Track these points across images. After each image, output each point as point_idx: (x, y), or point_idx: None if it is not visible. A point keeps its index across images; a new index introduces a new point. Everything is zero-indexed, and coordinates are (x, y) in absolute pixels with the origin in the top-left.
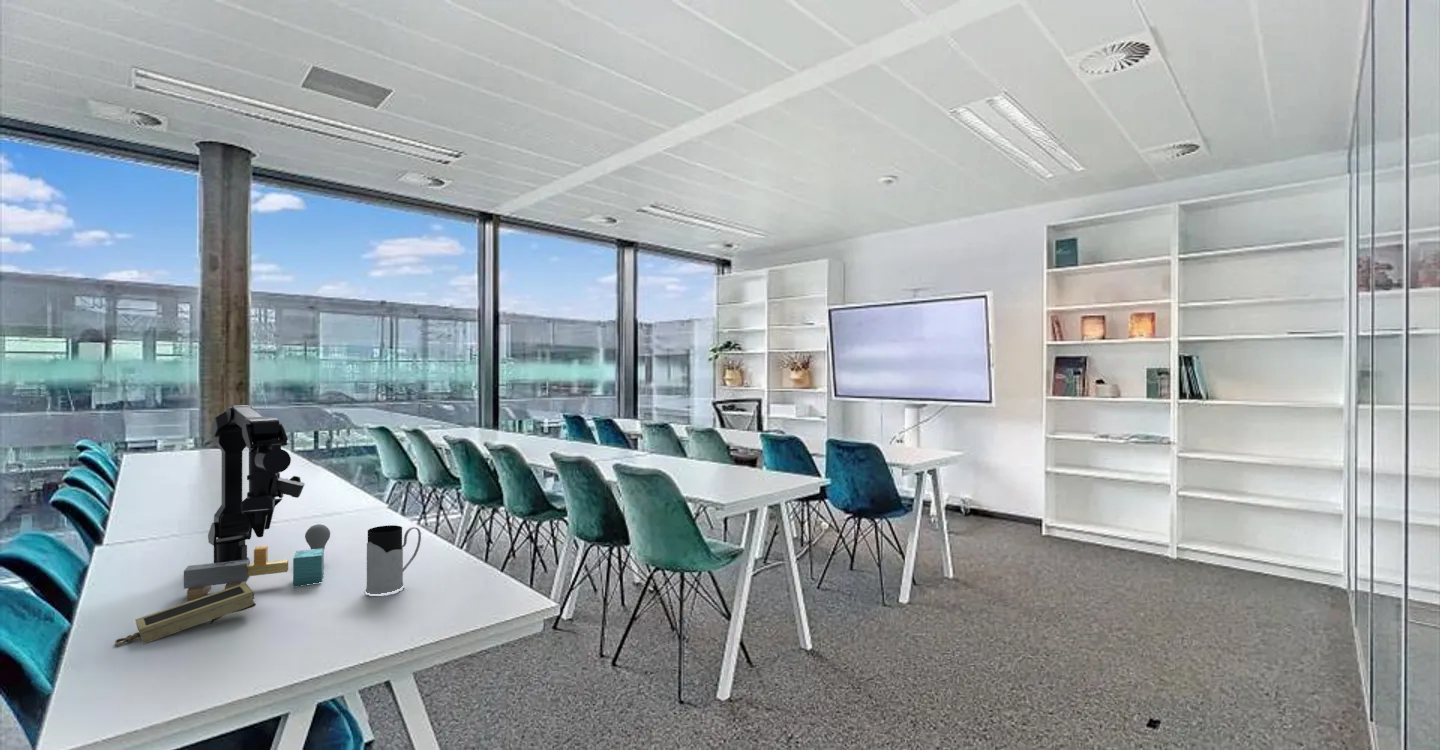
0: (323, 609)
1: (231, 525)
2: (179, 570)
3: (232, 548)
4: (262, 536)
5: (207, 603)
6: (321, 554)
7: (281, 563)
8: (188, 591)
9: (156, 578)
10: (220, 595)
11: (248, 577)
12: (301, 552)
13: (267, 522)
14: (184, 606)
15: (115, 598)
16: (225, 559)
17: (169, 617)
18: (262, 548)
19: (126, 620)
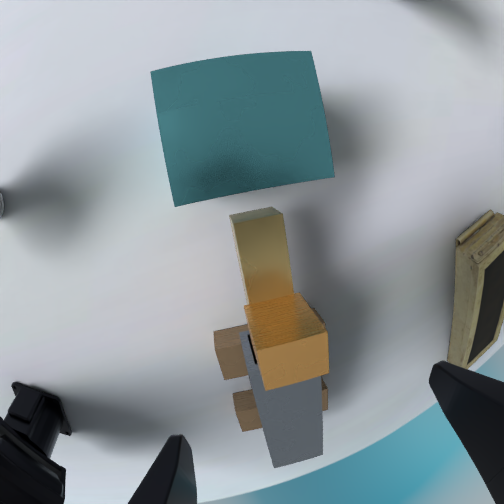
0: (462, 81)
1: (38, 489)
2: (95, 461)
3: (40, 432)
4: (441, 361)
5: (501, 292)
6: (292, 53)
7: (285, 236)
8: (326, 406)
9: (143, 475)
10: (490, 288)
11: None
12: (216, 166)
13: (182, 479)
14: (478, 331)
15: (252, 478)
16: (56, 424)
17: (495, 324)
18: (317, 349)
19: (383, 413)
